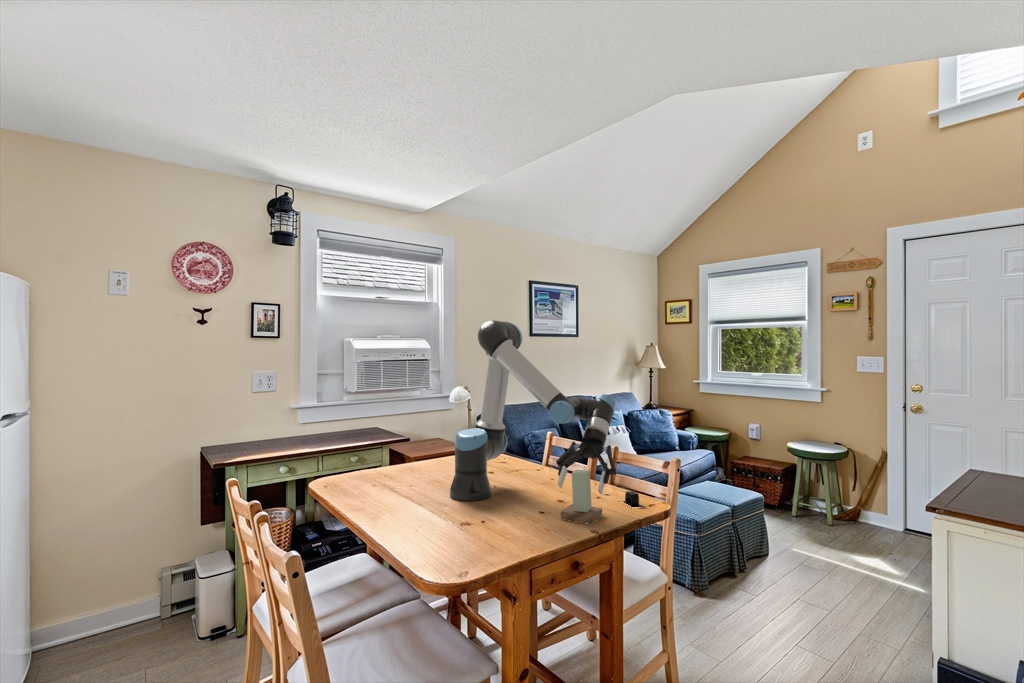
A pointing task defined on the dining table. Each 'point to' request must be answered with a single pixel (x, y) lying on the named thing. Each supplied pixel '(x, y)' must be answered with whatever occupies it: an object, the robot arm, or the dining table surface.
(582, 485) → the pillar
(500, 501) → the dining table surface
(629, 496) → the black boxy device
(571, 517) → the slab
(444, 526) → the dining table surface
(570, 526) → the dining table surface
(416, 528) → the dining table surface
